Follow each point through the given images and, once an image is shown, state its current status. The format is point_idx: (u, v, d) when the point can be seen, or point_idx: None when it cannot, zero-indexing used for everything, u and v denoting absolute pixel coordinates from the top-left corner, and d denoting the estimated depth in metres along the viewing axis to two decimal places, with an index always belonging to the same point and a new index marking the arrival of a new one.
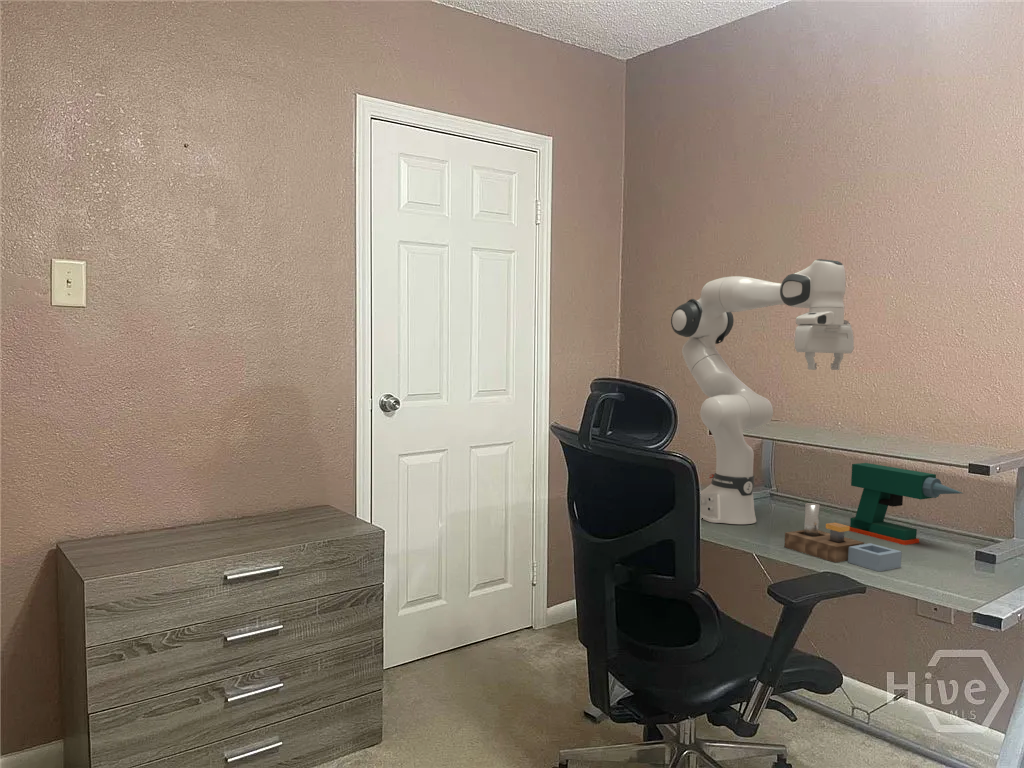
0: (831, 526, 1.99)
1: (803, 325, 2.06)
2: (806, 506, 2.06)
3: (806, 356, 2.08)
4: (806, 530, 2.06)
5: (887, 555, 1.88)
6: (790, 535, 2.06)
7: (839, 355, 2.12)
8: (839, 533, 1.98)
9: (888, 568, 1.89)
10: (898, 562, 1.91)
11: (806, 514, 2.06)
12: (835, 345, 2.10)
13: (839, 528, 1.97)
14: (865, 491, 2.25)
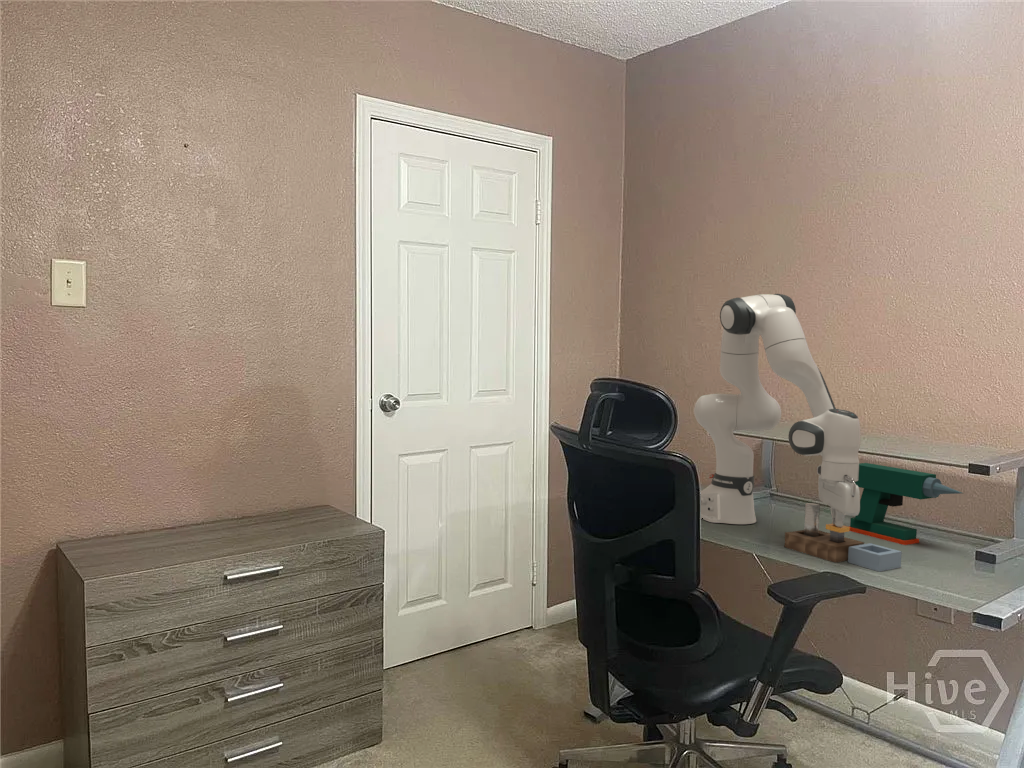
0: (831, 527, 1.99)
1: None
2: (806, 506, 2.06)
3: None
4: (806, 530, 2.06)
5: (887, 555, 1.88)
6: (790, 535, 2.06)
7: None
8: (839, 534, 1.98)
9: (888, 568, 1.89)
10: (898, 562, 1.91)
11: (806, 514, 2.06)
12: (834, 501, 1.97)
13: (839, 529, 1.97)
14: (865, 491, 2.25)
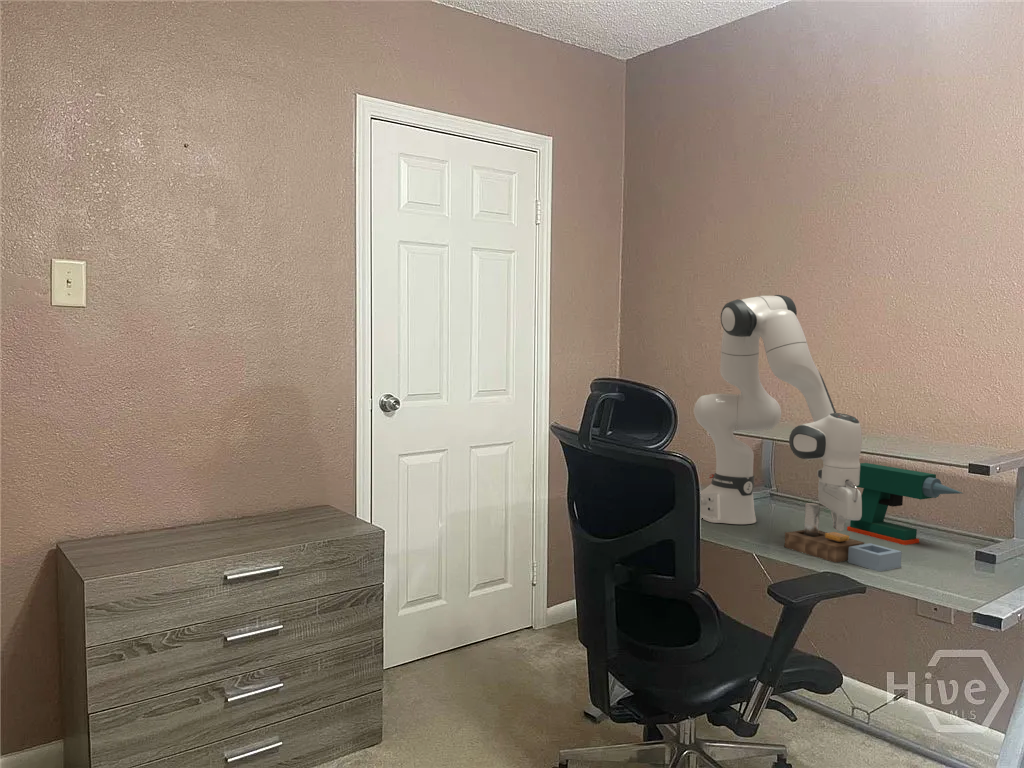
0: (831, 536, 1.99)
1: None
2: (806, 506, 2.06)
3: None
4: (806, 530, 2.06)
5: (887, 555, 1.88)
6: (790, 535, 2.06)
7: None
8: None
9: (888, 568, 1.89)
10: (898, 562, 1.91)
11: (806, 514, 2.06)
12: (835, 505, 1.98)
13: (839, 538, 1.97)
14: (865, 491, 2.25)
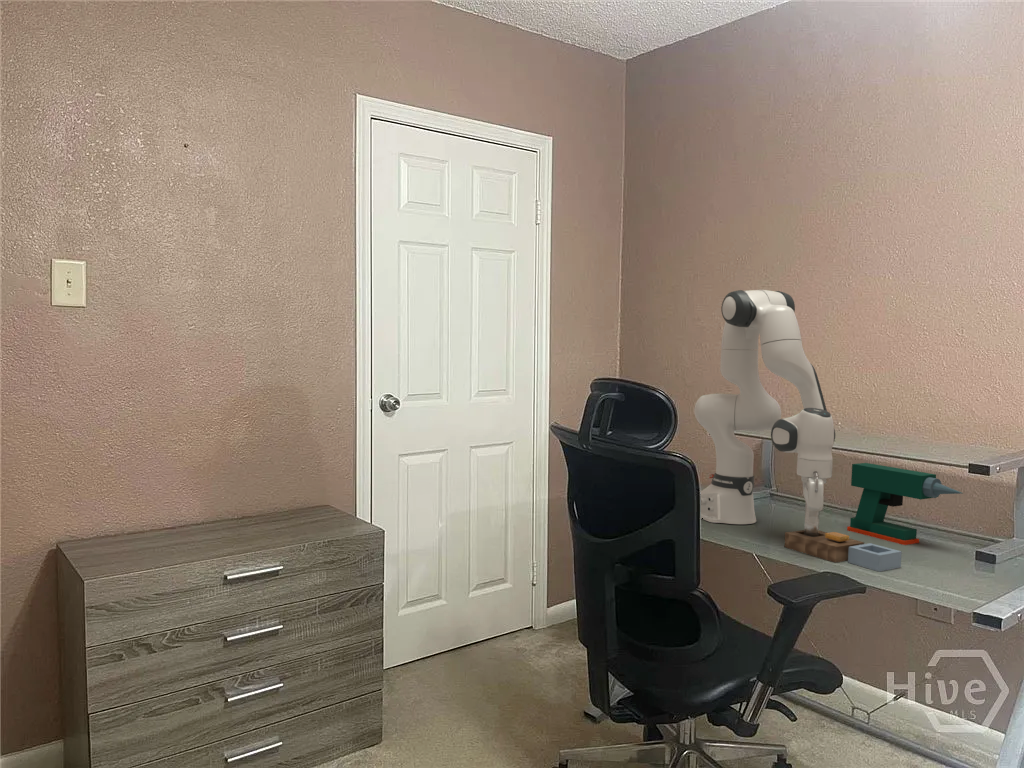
0: (831, 536, 1.99)
1: None
2: (806, 506, 2.06)
3: None
4: (806, 530, 2.06)
5: (887, 555, 1.88)
6: (790, 535, 2.06)
7: None
8: None
9: (888, 568, 1.89)
10: (898, 562, 1.91)
11: (806, 514, 2.06)
12: (806, 496, 2.05)
13: (839, 538, 1.97)
14: (865, 491, 2.25)
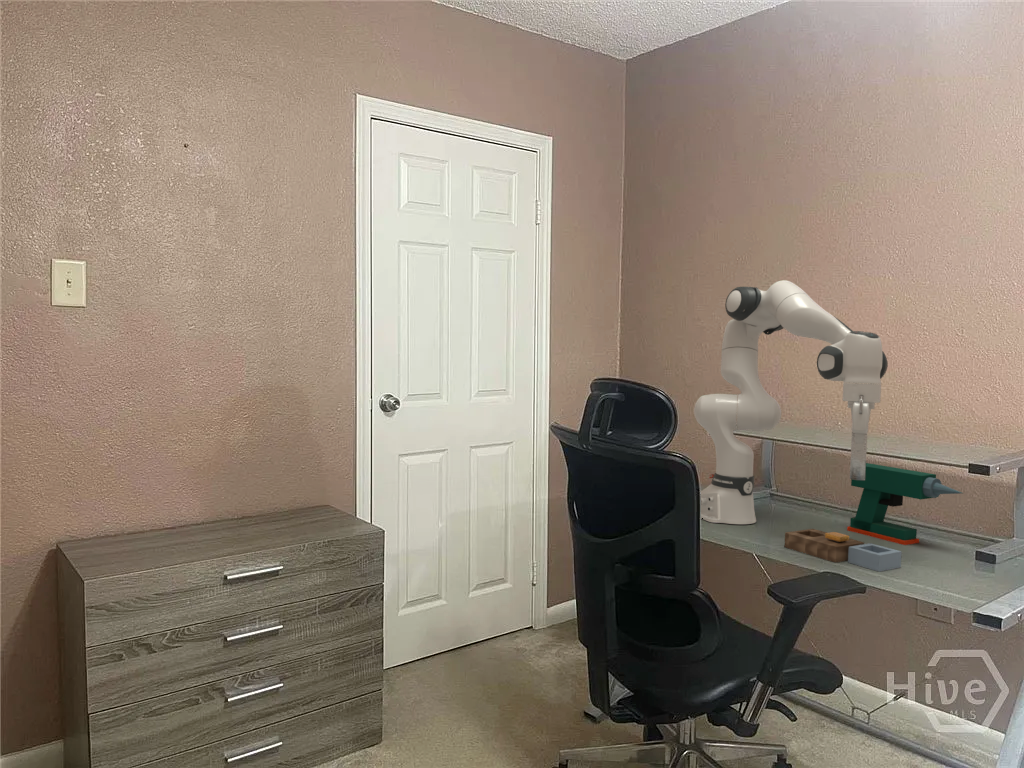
0: (831, 536, 1.99)
1: None
2: (852, 434, 1.96)
3: None
4: (852, 459, 1.96)
5: (887, 555, 1.88)
6: (790, 535, 2.06)
7: None
8: None
9: (888, 568, 1.89)
10: (898, 562, 1.91)
11: (852, 442, 1.96)
12: None
13: (839, 538, 1.97)
14: (865, 491, 2.25)
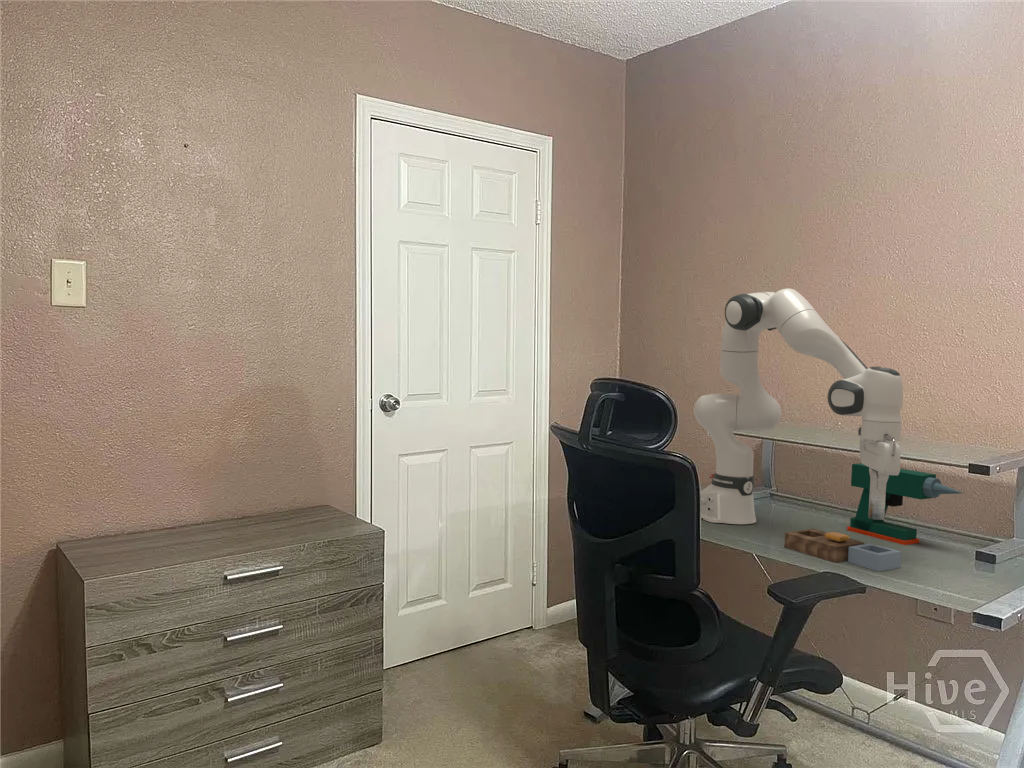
0: (831, 536, 1.99)
1: None
2: (872, 472, 1.91)
3: None
4: (873, 498, 1.91)
5: (887, 555, 1.88)
6: (790, 535, 2.06)
7: None
8: None
9: (888, 568, 1.89)
10: (898, 562, 1.91)
11: (873, 481, 1.91)
12: (874, 461, 1.90)
13: (839, 538, 1.97)
14: (865, 491, 2.25)
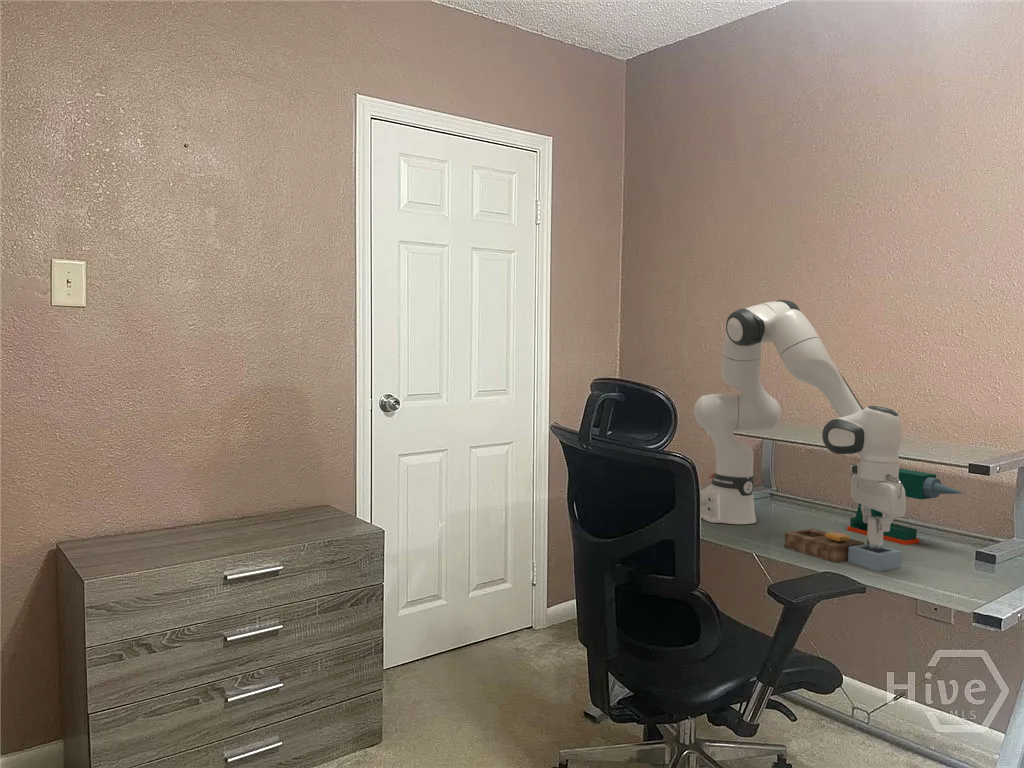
0: (831, 536, 1.99)
1: None
2: (871, 520, 1.92)
3: None
4: (872, 545, 1.91)
5: (887, 555, 1.88)
6: (790, 535, 2.06)
7: None
8: None
9: (888, 568, 1.89)
10: (898, 562, 1.91)
11: (871, 528, 1.92)
12: (874, 501, 1.90)
13: (839, 538, 1.97)
14: None
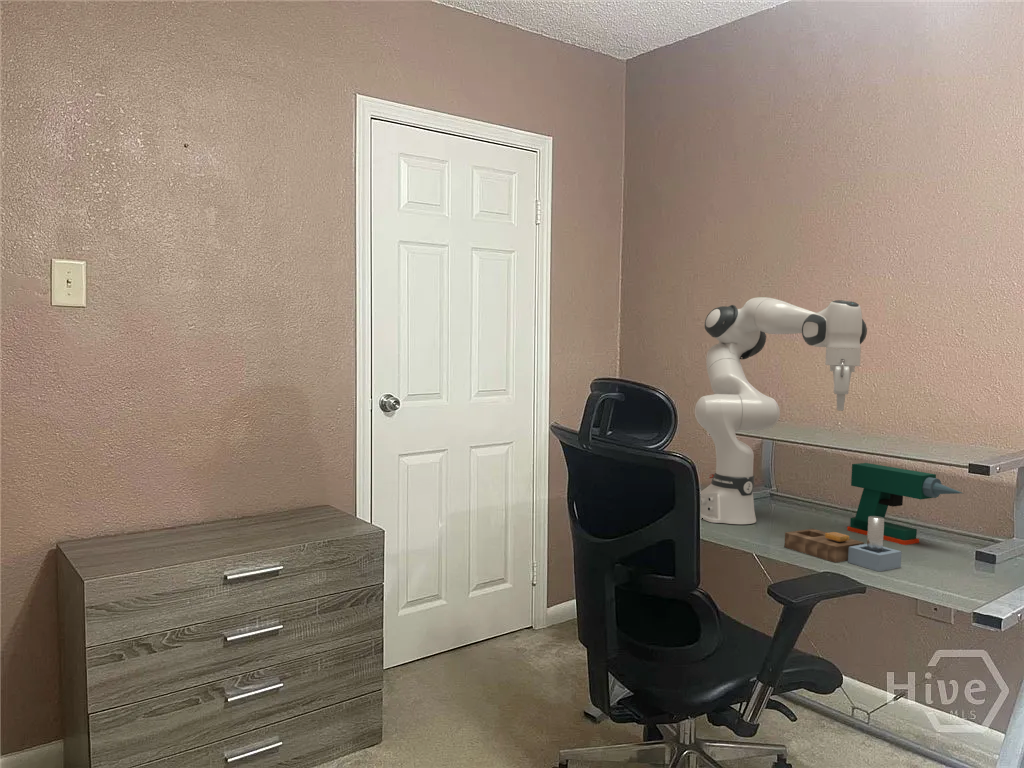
0: (831, 536, 1.99)
1: None
2: (871, 520, 1.92)
3: None
4: (872, 545, 1.91)
5: (887, 555, 1.88)
6: (790, 535, 2.06)
7: None
8: None
9: (888, 568, 1.89)
10: (898, 562, 1.91)
11: (871, 528, 1.91)
12: None
13: (839, 538, 1.97)
14: (865, 491, 2.25)
